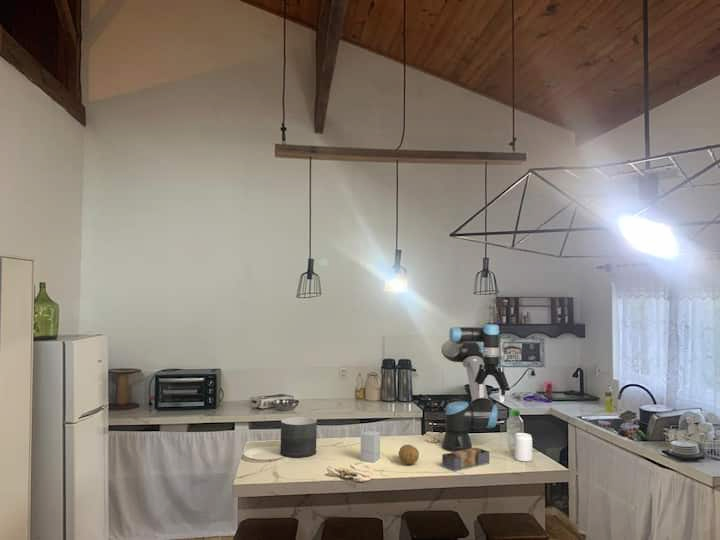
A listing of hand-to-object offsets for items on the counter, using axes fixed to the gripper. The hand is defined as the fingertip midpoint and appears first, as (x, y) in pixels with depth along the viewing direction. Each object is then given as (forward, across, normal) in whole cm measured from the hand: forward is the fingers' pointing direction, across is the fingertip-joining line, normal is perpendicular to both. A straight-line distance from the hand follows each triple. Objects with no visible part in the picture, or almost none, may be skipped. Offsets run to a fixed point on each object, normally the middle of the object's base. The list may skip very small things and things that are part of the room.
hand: (491, 399), depth 260 cm
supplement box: (+28, -27, -53) cm, 66 cm away
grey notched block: (+28, +2, -18) cm, 34 cm away
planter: (+28, -54, -78) cm, 99 cm away
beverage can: (+28, +10, +12) cm, 32 cm away
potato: (+28, -13, -40) cm, 51 cm away
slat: (+28, +2, -19) cm, 33 cm away
